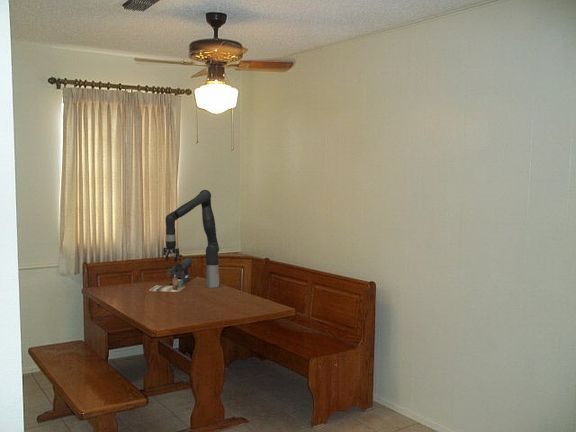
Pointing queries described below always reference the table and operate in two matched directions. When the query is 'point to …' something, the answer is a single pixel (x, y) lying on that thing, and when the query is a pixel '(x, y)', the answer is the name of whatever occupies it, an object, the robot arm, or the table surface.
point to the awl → (174, 283)
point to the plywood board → (166, 288)
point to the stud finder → (179, 283)
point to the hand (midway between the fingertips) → (171, 261)
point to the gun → (181, 269)
